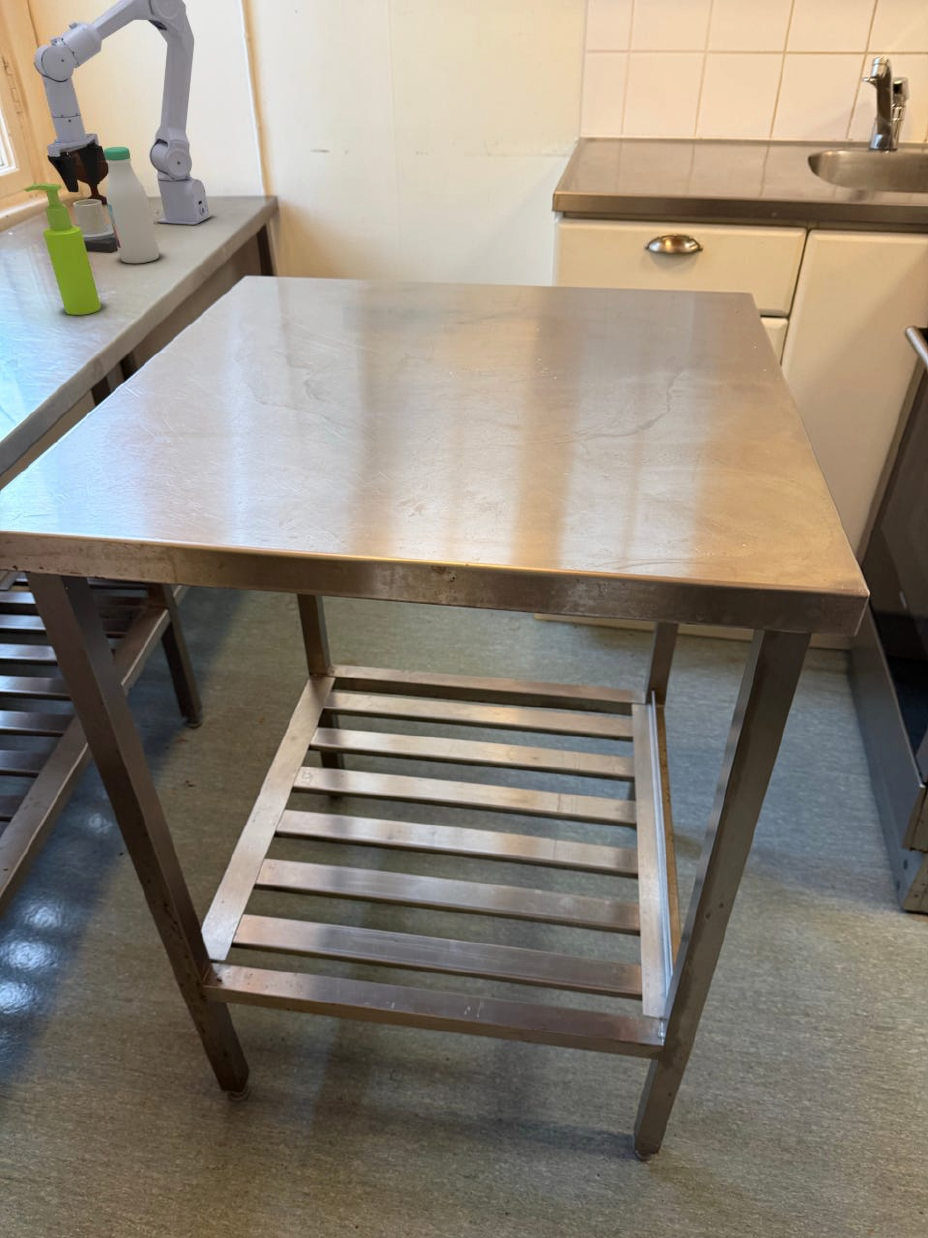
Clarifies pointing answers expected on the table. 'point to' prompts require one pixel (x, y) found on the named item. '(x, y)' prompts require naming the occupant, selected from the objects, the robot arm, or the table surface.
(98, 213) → the light grey cup
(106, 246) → the scale
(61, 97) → the robot arm
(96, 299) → the soap dispenser
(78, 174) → the ice cream bowl
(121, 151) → the milk bottle
